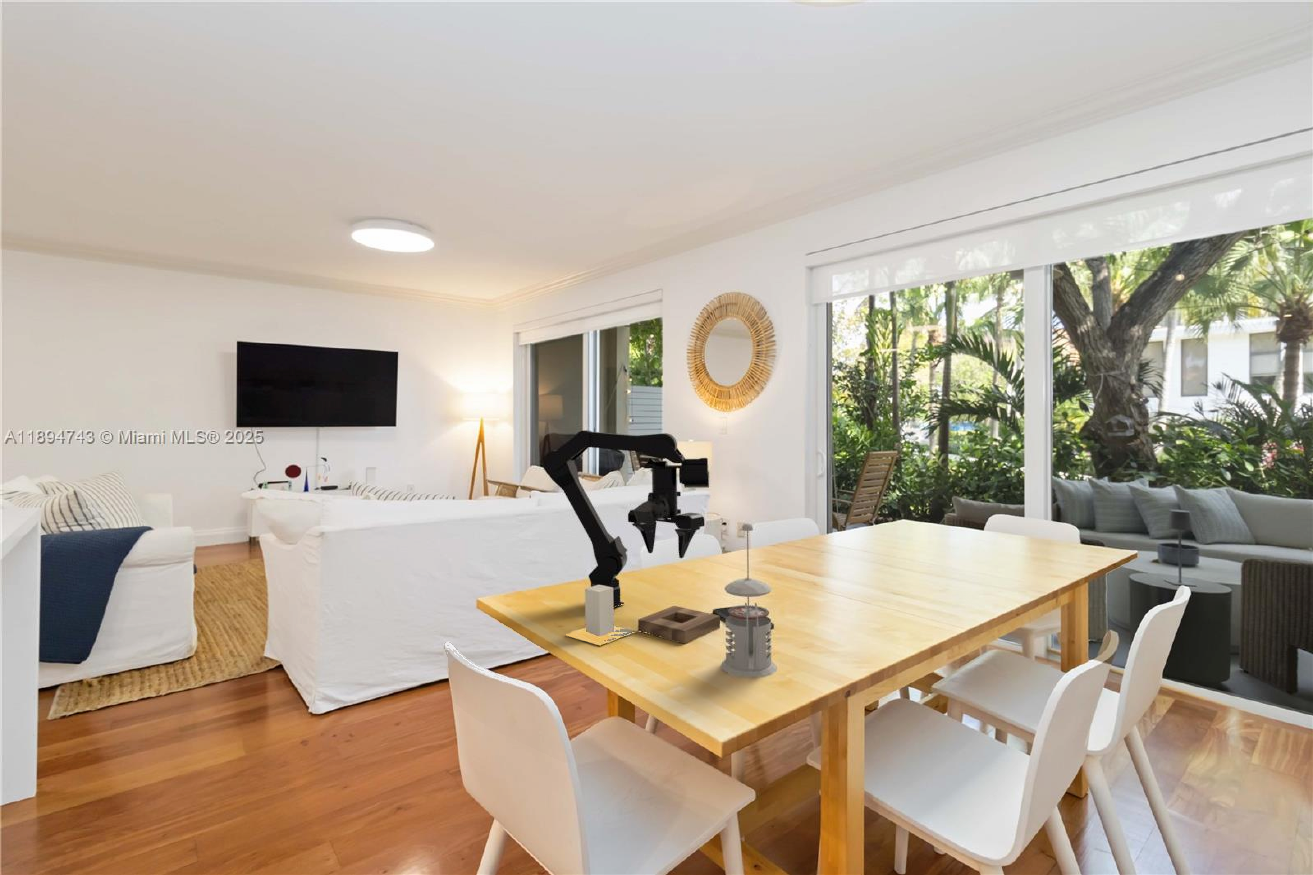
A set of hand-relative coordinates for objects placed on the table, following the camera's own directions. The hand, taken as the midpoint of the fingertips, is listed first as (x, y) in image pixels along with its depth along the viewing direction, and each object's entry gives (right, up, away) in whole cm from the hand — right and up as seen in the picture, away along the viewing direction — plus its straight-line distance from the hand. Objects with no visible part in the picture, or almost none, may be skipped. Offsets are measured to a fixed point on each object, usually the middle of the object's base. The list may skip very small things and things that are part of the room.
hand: (665, 555), depth 146 cm
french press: (+14, -13, -36) cm, 41 cm away
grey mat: (-14, -13, -18) cm, 26 cm away
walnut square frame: (+3, -12, -16) cm, 20 cm away
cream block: (-14, -12, -18) cm, 26 cm away
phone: (+16, -13, -10) cm, 23 cm away
